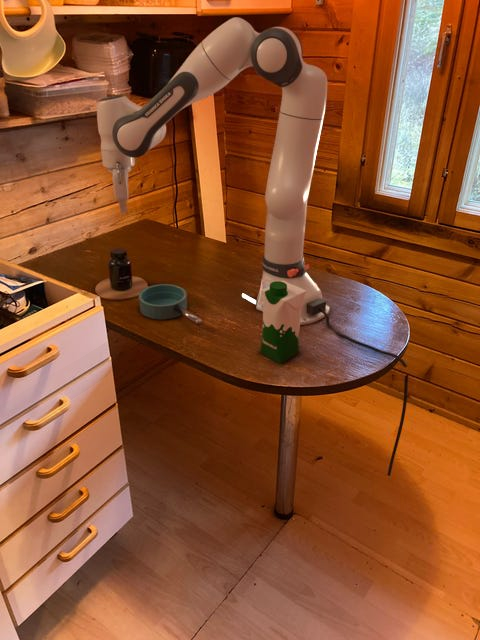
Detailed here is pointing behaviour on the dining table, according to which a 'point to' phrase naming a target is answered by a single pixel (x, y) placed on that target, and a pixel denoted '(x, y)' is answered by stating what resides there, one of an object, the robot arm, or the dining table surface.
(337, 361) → the dining table surface
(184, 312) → the pan handle
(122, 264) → the supplement bottle
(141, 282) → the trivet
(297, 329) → the milk carton
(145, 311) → the pan
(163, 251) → the dining table surface
